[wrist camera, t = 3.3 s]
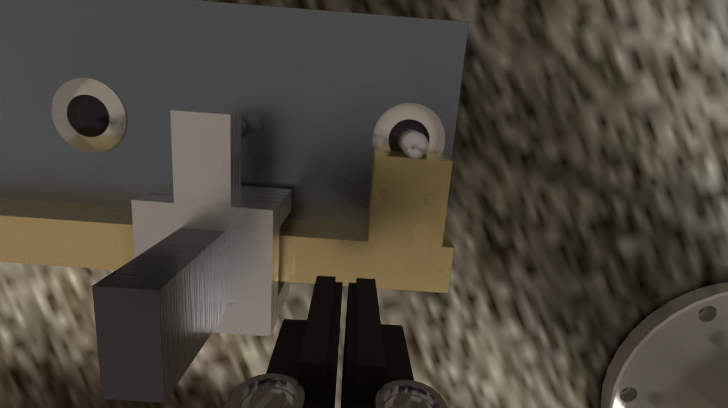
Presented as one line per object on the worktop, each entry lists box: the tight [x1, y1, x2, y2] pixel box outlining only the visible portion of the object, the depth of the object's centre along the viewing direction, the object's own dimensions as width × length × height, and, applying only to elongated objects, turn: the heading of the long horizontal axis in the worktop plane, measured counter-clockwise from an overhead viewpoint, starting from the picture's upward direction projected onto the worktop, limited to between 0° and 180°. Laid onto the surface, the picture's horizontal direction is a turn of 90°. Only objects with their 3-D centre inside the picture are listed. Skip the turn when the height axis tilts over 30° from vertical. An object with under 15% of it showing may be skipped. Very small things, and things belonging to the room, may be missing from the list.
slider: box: [92, 110, 292, 403], centre depth 14 cm, size 5×8×9 cm, turn 176°
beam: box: [0, 129, 454, 293], centre depth 17 cm, size 22×6×2 cm, turn 86°
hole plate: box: [0, 0, 469, 224], centre depth 18 cm, size 22×12×1 cm, turn 86°
